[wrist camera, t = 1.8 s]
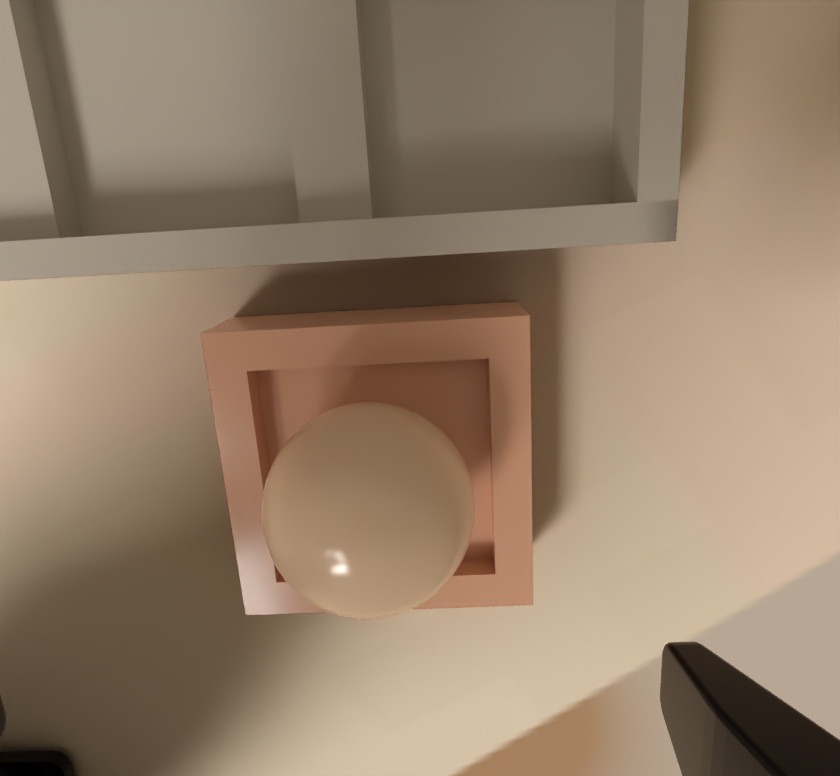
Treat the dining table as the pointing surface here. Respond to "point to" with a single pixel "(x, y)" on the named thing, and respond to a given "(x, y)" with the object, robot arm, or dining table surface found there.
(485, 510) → the egg dish
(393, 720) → the dining table surface
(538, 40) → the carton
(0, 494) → the dining table surface
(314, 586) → the brown egg
